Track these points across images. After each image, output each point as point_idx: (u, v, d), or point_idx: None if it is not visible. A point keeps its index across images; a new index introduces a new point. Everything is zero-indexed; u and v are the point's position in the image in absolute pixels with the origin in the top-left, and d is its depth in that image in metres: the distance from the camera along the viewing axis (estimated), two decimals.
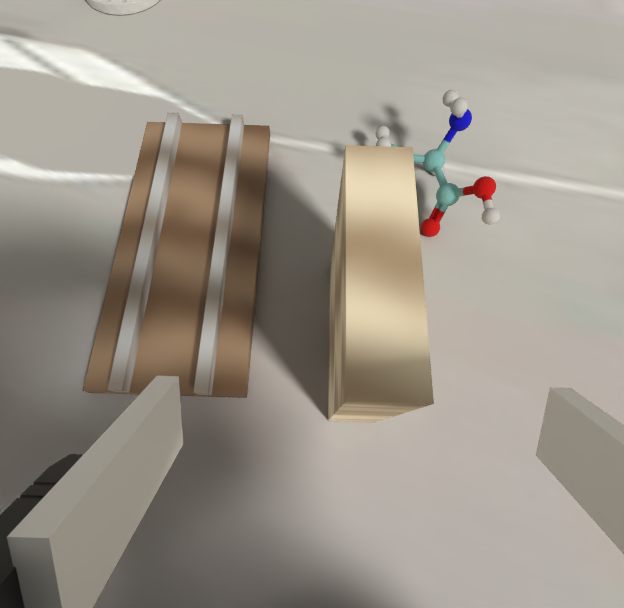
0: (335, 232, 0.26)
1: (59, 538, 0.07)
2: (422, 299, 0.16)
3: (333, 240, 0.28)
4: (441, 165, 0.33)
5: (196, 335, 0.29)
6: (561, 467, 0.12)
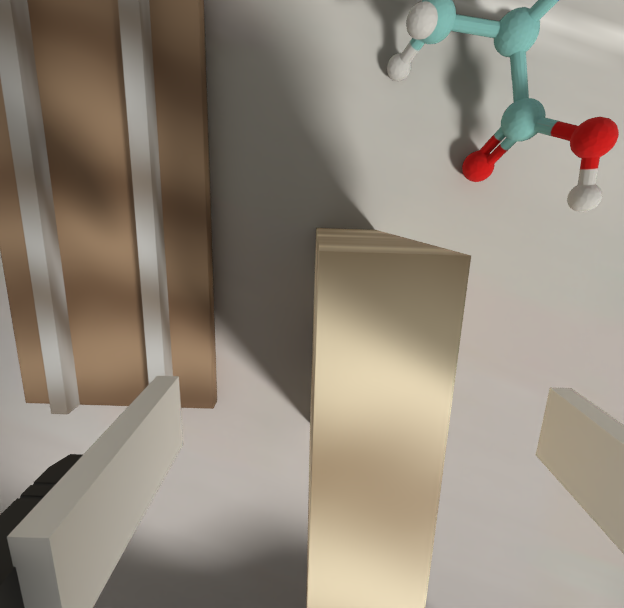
0: (316, 251, 0.16)
1: (59, 538, 0.07)
2: (427, 555, 0.11)
3: (316, 232, 0.18)
4: (527, 48, 0.17)
5: (142, 339, 0.23)
6: (561, 466, 0.12)
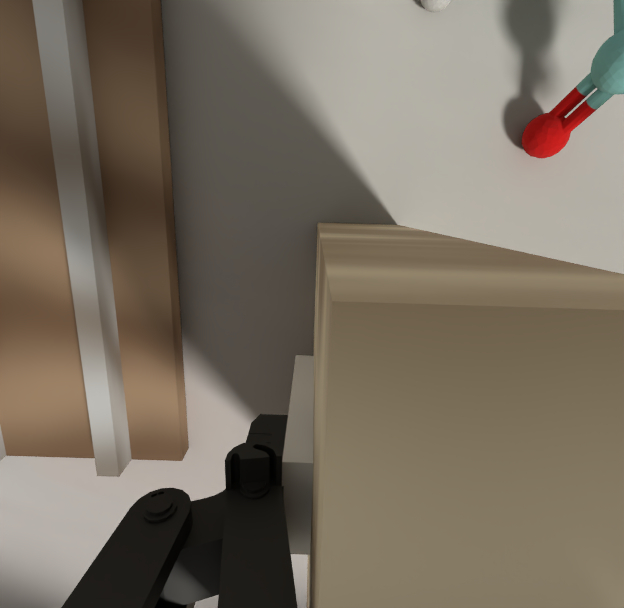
0: (318, 260, 0.10)
1: None
2: None
3: (318, 229, 0.12)
4: None
5: None
6: None
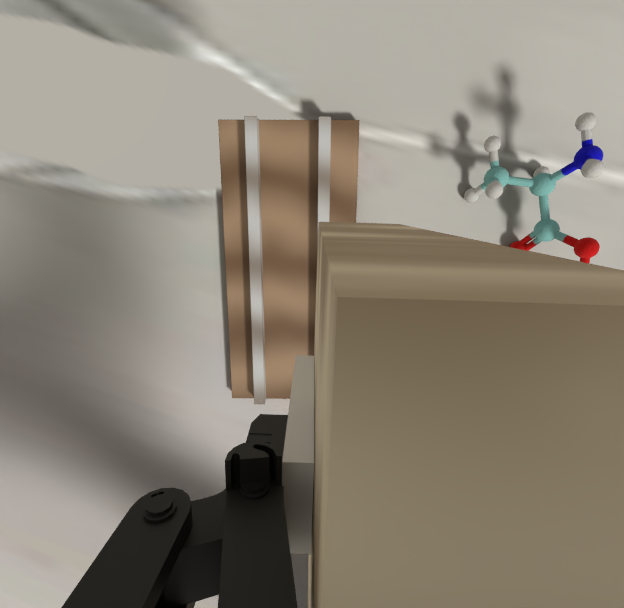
0: None
1: None
2: None
3: None
4: None
5: None
6: None
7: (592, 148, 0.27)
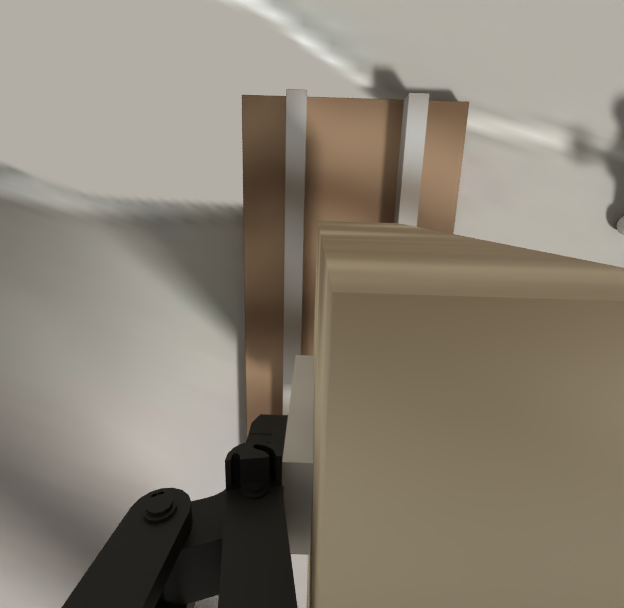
0: None
1: None
2: None
3: (318, 226, 0.12)
4: None
5: None
6: None
7: None
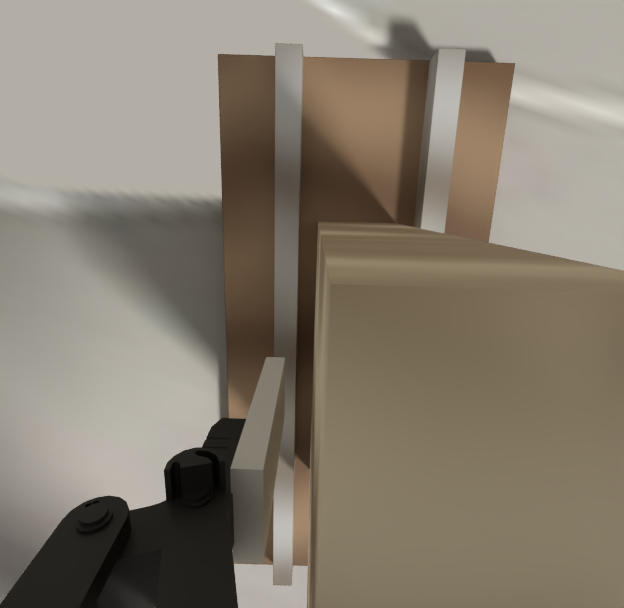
0: None
1: (263, 472, 0.09)
2: None
3: None
4: None
5: None
6: None
7: None
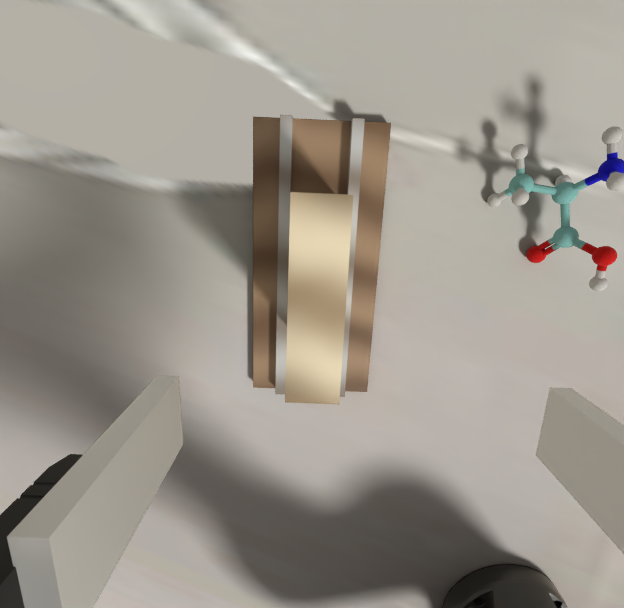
0: None
1: (59, 538, 0.07)
2: (341, 339, 0.23)
3: None
4: (570, 201, 0.32)
5: None
6: (561, 467, 0.12)
7: (617, 161, 0.28)
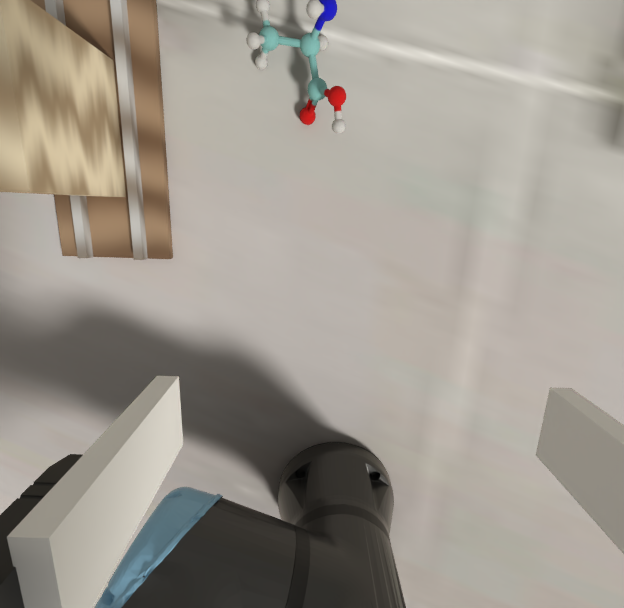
0: None
1: (59, 538, 0.07)
2: (17, 124, 0.25)
3: None
4: (315, 53, 0.35)
5: (128, 216, 0.41)
6: (561, 467, 0.12)
7: None
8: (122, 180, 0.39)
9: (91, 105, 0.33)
